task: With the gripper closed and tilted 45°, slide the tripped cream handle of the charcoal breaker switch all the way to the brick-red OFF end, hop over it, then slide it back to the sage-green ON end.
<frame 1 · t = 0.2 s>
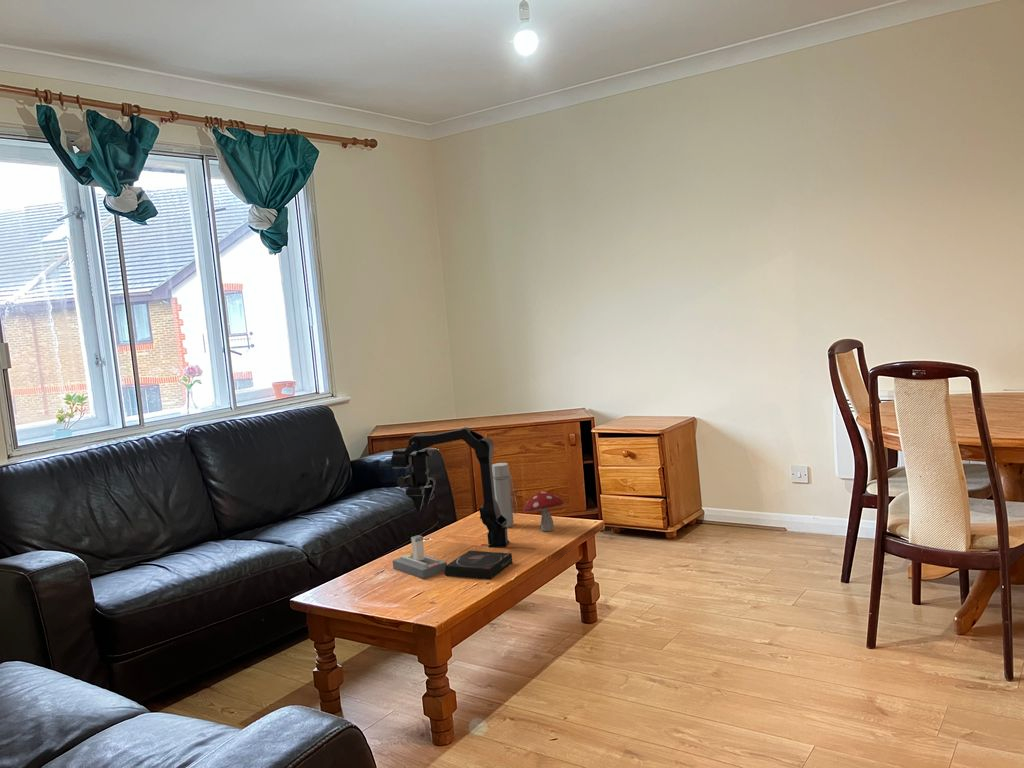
hand: (422, 509, 299), 14 cm above the table, tool pointing down, fingers open, 9 cm apart
breaker housing: (420, 569, 273), on the table
decorative mushroom: (545, 530, 308), on the table
breaker handle: (418, 548, 272), point 8 cm above the table, slide at 0.0 cm
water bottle: (507, 526, 319), on the table
portable cd player: (479, 571, 268), on the table
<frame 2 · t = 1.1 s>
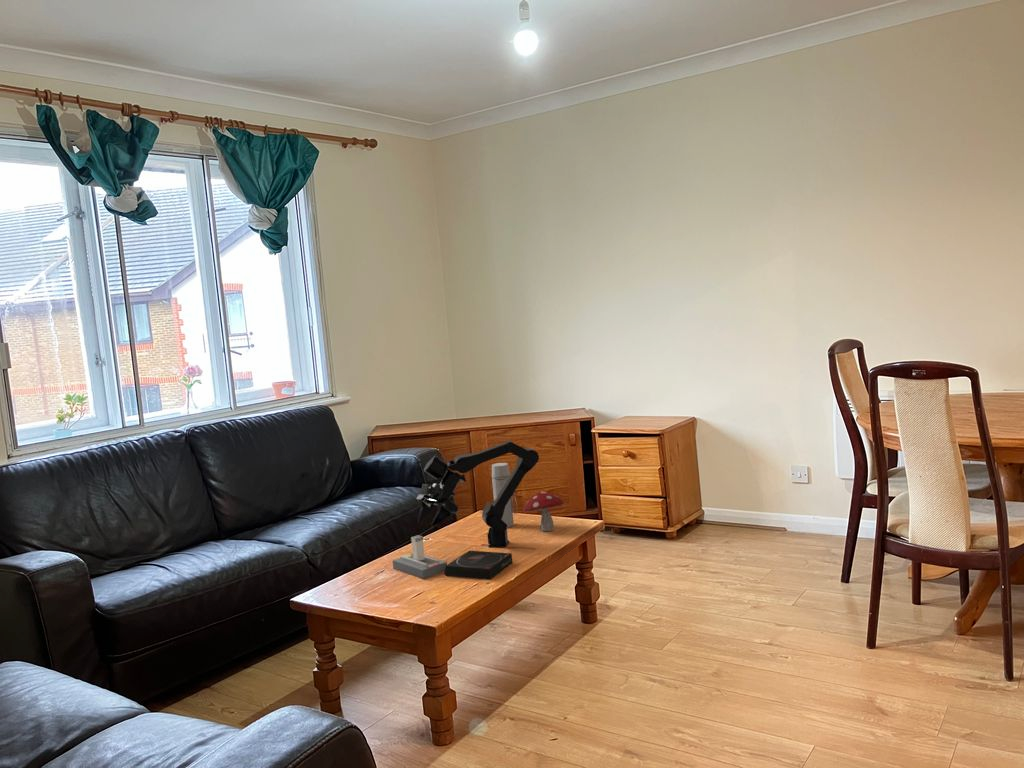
hand: (425, 524, 281), 13 cm above the table, tool tilted 45°, fingers open, 8 cm apart
nothing on the table moved.
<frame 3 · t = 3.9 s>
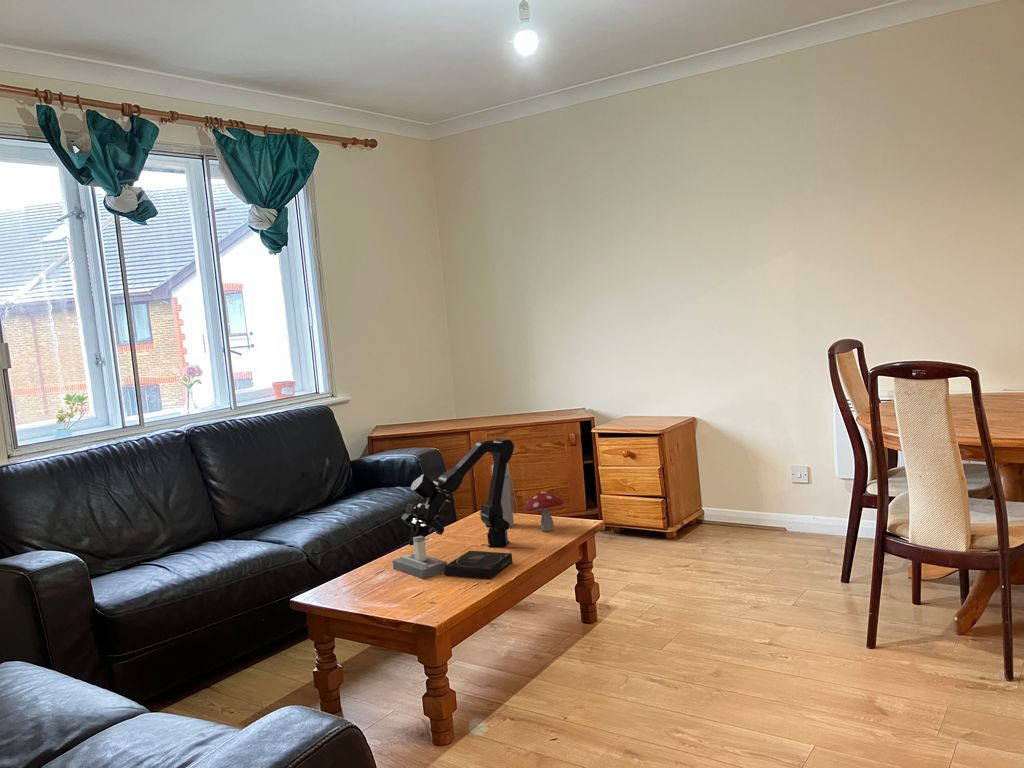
hand: (409, 545, 273), 9 cm above the table, tool tilted 45°, fingers closed
breaker handle: (419, 548, 272), point 8 cm above the table, slide at 1.1 cm, touching gripper
everything else where it was.
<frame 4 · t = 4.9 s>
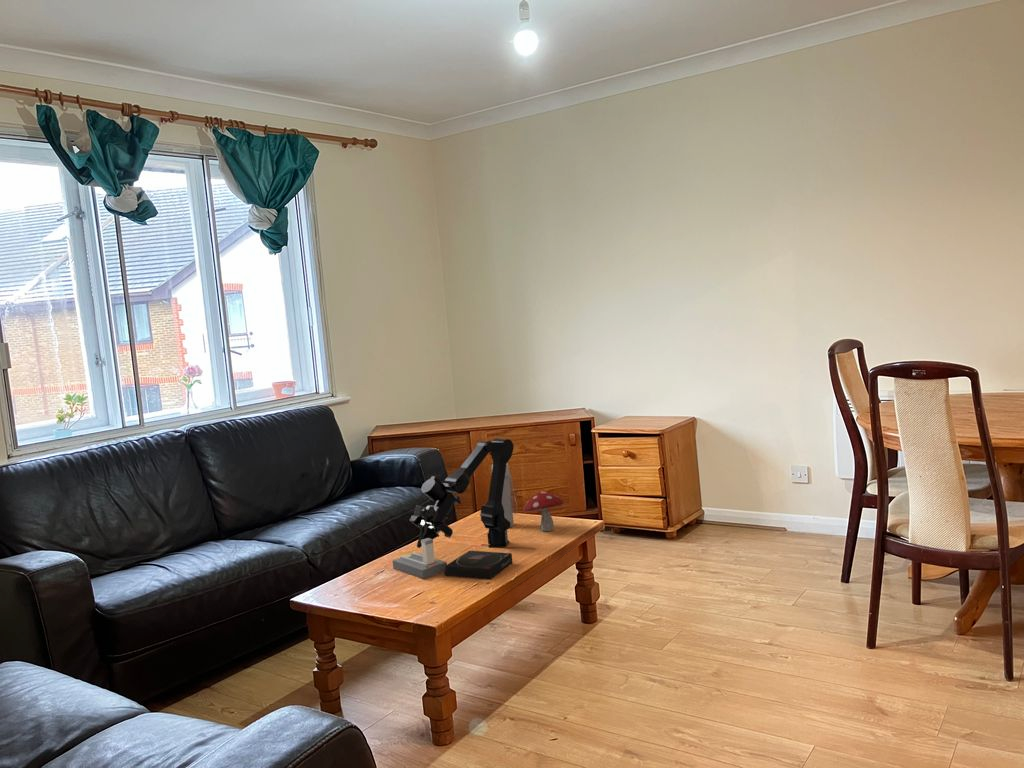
hand: (417, 547, 270), 9 cm above the table, tool tilted 45°, fingers closed
breaker handle: (427, 551, 268), point 8 cm above the table, slide at 5.8 cm, touching gripper
everything else where it was.
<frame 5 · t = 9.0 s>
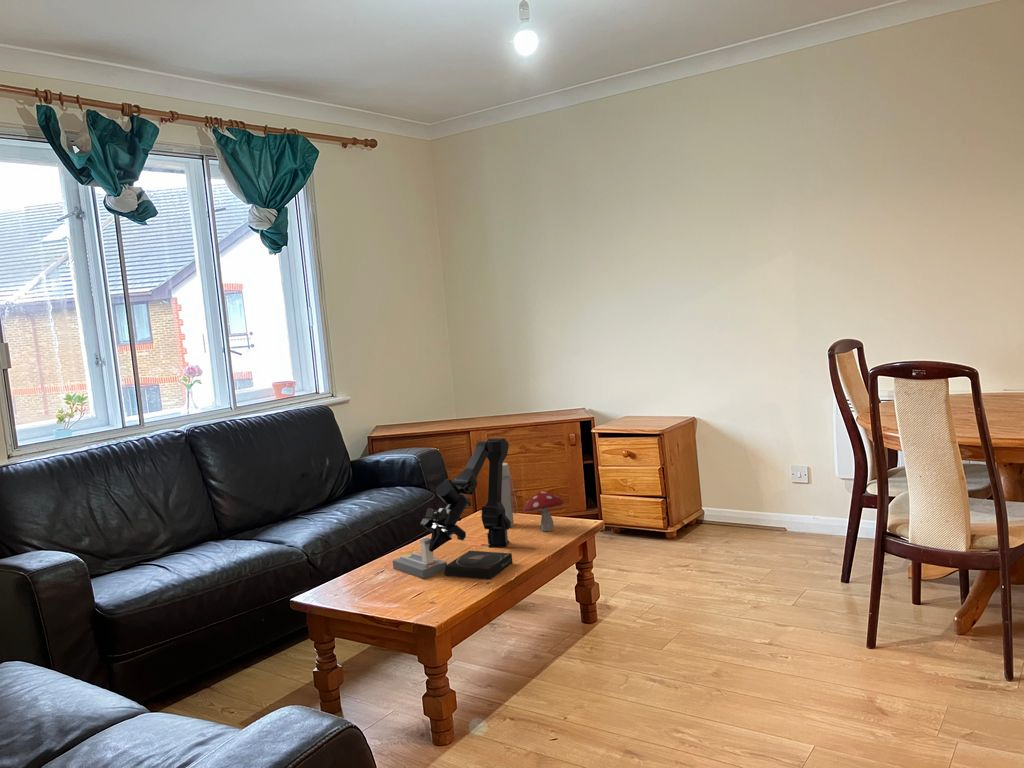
hand: (430, 551, 264), 9 cm above the table, tool tilted 45°, fingers closed
breaker handle: (427, 551, 268), point 8 cm above the table, slide at 5.4 cm, touching gripper
everything else where it was.
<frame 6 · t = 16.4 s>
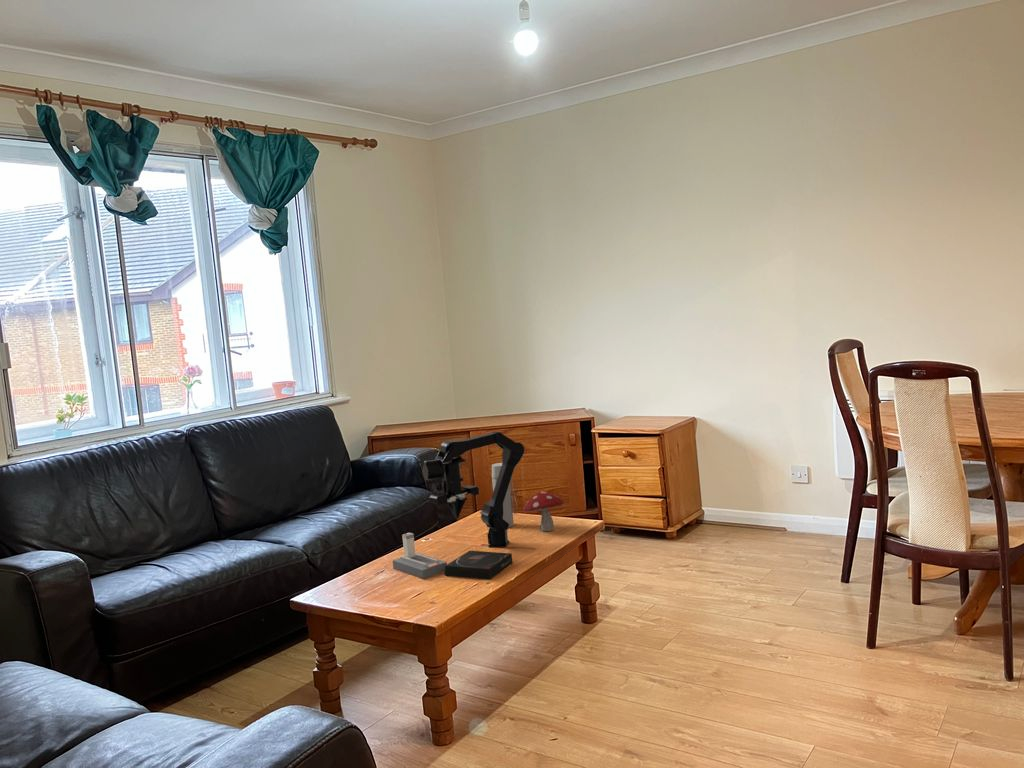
hand: (456, 518, 286), 13 cm above the table, tool pointing down, fingers closed
breaker handle: (408, 545, 277), point 8 cm above the table, slide at -5.5 cm
everything else where it was.
at the end: breaker handle slide at -5.5 cm; the gripper is holding nothing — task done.
